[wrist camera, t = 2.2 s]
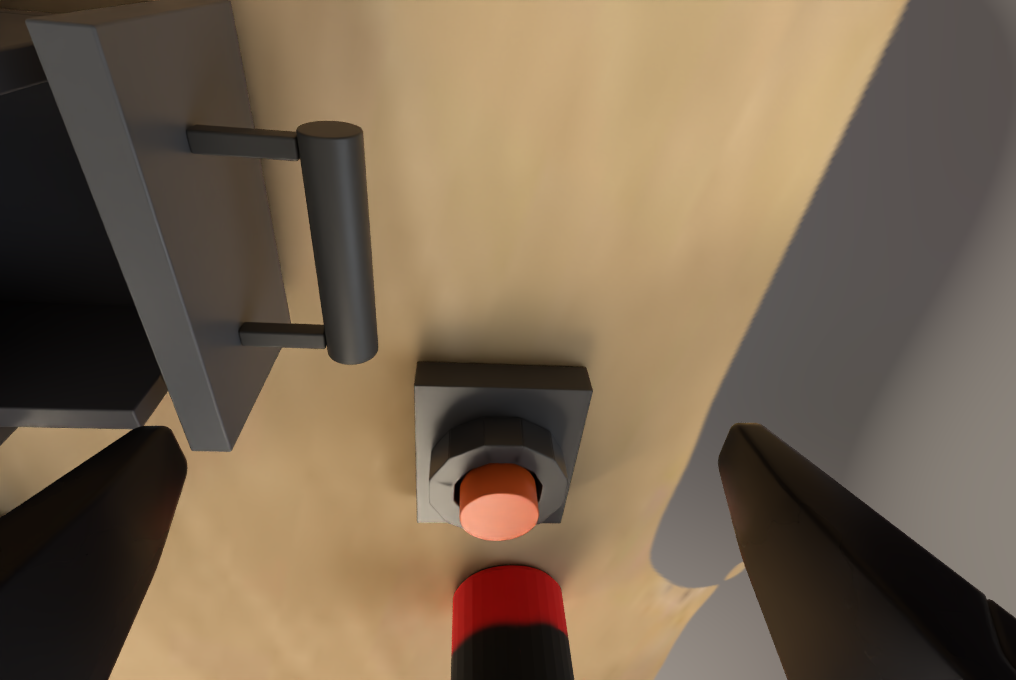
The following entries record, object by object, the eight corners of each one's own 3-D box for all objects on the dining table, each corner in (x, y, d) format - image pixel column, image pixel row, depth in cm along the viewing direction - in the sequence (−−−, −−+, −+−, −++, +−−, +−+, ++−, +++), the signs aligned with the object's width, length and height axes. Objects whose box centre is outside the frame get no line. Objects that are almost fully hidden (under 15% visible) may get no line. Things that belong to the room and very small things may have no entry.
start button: (530, 510, 26) (534, 541, 25) (458, 509, 26) (458, 541, 24) (539, 461, 24) (544, 493, 23) (461, 460, 24) (460, 492, 22)
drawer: (381, 14, 15) (331, 46, 10) (395, 331, 22) (370, 454, 17) (-268, -49, 14) (-758, -53, 8) (-40, 314, 20) (-227, 445, 15)
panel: (556, 498, 31) (565, 553, 28) (419, 497, 30) (414, 553, 27) (586, 366, 25) (601, 418, 22) (417, 361, 24) (410, 414, 21)
